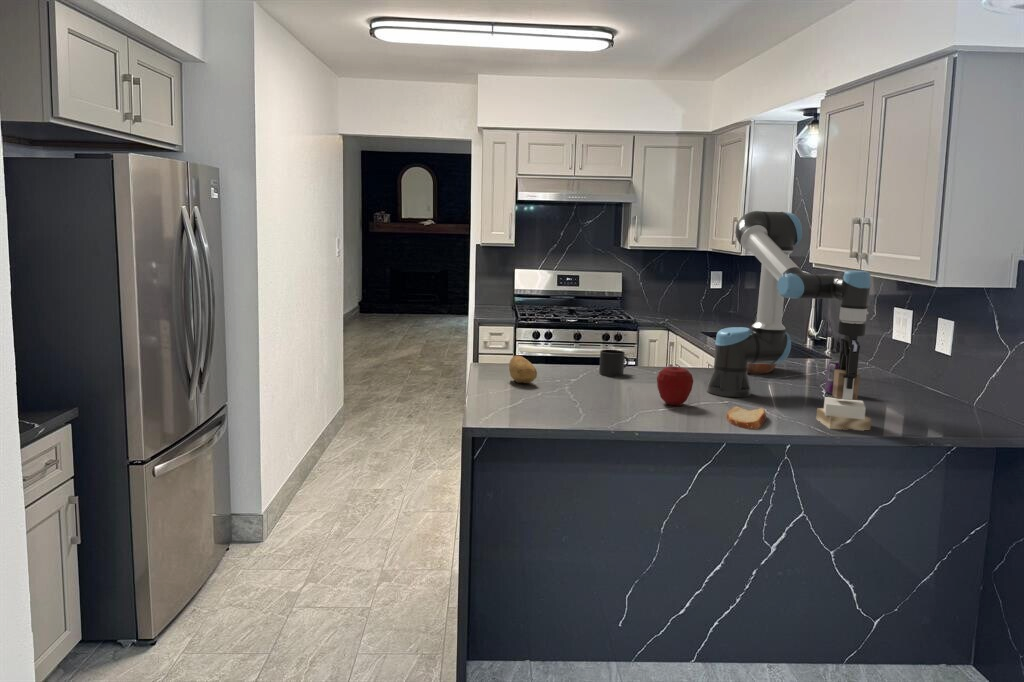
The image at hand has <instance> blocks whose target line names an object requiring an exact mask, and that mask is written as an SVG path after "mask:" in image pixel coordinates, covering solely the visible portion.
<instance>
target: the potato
mask: <svg viewBox="0 0 1024 682" xmlns="http://www.w3.org/2000/svg"><path fill="white" fill-rule="evenodd" d="M508 368H509V369H508V371H509V374H510V375H509V376H510V377H511V378H512V379H513V380H514V382H516V383H518V384H529V383H532V382H533V381H535V380H536V378H538V377H537V374H538V372H537V368H536V367H535V366H534V365H533V363H532V362H531V361H529V359H526V358H525V357H523V356H521V355H513V356H512V358H511V359H510V361H509V363H508Z"/></svg>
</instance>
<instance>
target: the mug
mask: <svg viewBox="0 0 1024 682" xmlns="http://www.w3.org/2000/svg"><path fill="white" fill-rule="evenodd" d="M599 352H600V354H599V370H598V373H599V374H600V375H601V376H606V377H621V376H624V372H625V371H624V369H625V368H627V367H628V365H629V358H628V357H626V356H625V351H623V350H618V349H601V350H600V351H599ZM625 361H626V362H625Z"/></svg>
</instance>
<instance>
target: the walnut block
mask: <svg viewBox="0 0 1024 682" xmlns="http://www.w3.org/2000/svg"><path fill="white" fill-rule="evenodd" d="M843 376H846V370H836V369H835V372H834V382H833V392H832V394H831V395H832V396H833V398H836V399H843V398H842V397H843V387H844V378H843ZM860 377H861V374H860V373H859V372H857V377H855V378H854V388H853V397H852V399H847V400H858V395H859V388H860V387H859V386H860Z"/></svg>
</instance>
